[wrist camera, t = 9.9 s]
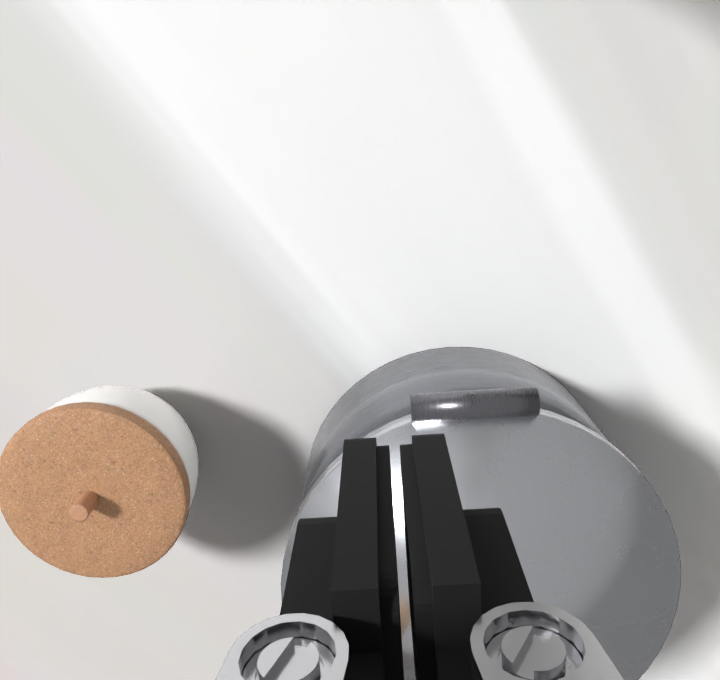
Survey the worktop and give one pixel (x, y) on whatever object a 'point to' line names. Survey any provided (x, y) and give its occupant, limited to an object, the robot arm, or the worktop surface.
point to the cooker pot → (428, 375)
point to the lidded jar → (100, 481)
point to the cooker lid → (542, 514)
